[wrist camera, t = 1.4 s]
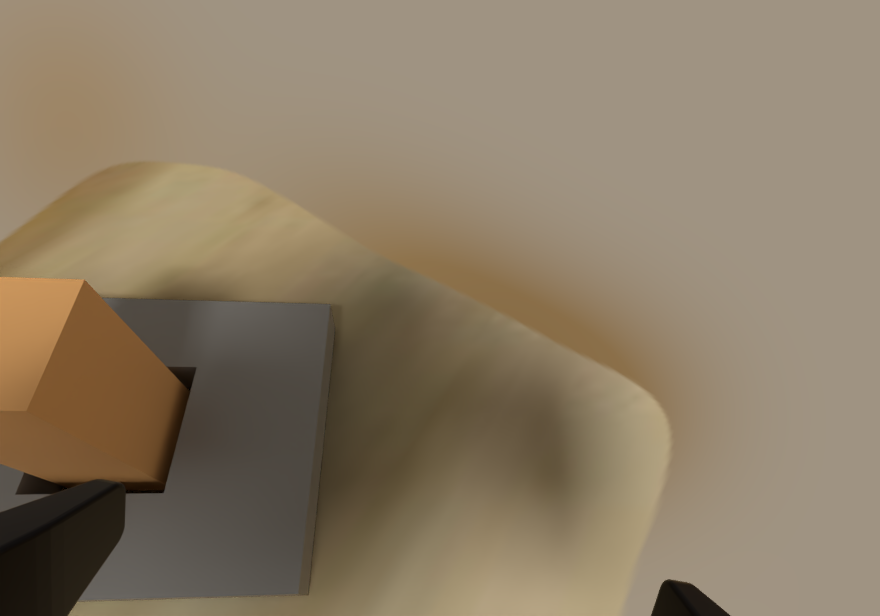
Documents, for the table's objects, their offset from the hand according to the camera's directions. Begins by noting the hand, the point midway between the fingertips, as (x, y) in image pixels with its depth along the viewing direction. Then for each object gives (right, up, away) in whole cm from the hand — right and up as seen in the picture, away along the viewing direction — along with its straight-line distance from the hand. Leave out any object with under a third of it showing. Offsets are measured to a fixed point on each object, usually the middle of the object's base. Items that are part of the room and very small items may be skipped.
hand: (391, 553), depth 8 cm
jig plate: (-13, -2, +13) cm, 18 cm away
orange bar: (-13, -2, +13) cm, 19 cm away
